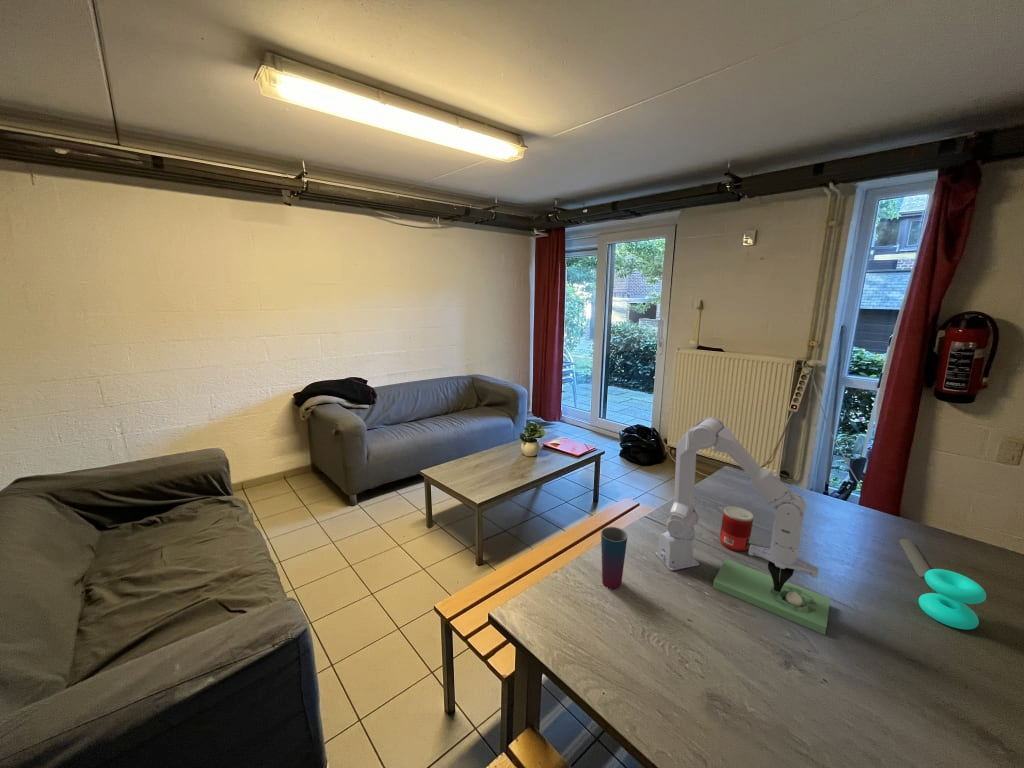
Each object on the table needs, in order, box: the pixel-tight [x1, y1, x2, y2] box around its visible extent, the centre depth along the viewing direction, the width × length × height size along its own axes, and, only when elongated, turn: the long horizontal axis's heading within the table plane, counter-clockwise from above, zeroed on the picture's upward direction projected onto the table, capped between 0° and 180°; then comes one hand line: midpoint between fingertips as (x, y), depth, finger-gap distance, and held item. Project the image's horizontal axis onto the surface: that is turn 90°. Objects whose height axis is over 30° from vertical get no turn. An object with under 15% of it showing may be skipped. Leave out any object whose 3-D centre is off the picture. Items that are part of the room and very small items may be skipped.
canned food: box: [719, 506, 754, 552], centre depth 125 cm, size 8×8×11 cm
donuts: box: [918, 568, 987, 631], centre depth 97 cm, size 10×10×10 cm
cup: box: [600, 526, 628, 590], centre depth 109 cm, size 7×7×15 cm
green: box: [712, 558, 831, 636], centre depth 105 cm, size 24×12×2 cm, turn 49°
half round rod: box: [898, 538, 931, 579], centre depth 118 cm, size 4×20×2 cm, turn 150°
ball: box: [785, 592, 803, 607], centre depth 101 cm, size 4×4×4 cm
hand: (777, 589), depth 103 cm, fingers closed
